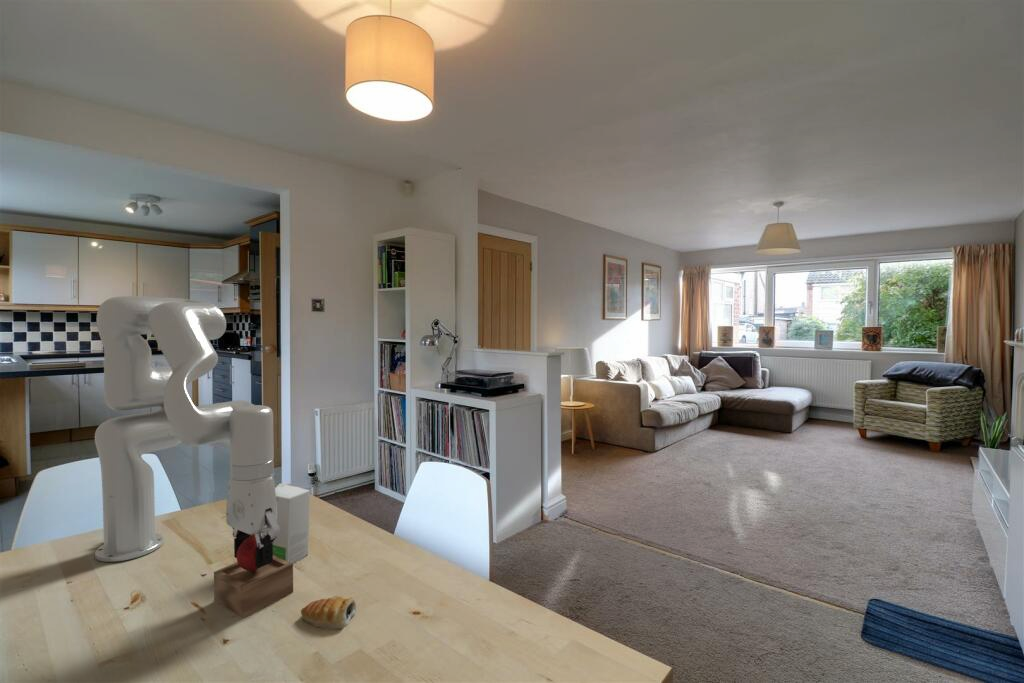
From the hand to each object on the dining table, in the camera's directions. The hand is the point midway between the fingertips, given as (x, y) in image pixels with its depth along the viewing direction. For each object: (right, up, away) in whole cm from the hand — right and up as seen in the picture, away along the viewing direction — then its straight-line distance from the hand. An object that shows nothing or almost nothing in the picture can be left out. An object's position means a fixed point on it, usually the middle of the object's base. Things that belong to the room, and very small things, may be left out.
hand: (253, 559), depth 96 cm
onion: (0, -3, 0) cm, 3 cm away
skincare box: (-1, -7, +16) cm, 18 cm away
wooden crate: (0, -8, 0) cm, 8 cm away
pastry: (+18, -9, -6) cm, 20 cm away
